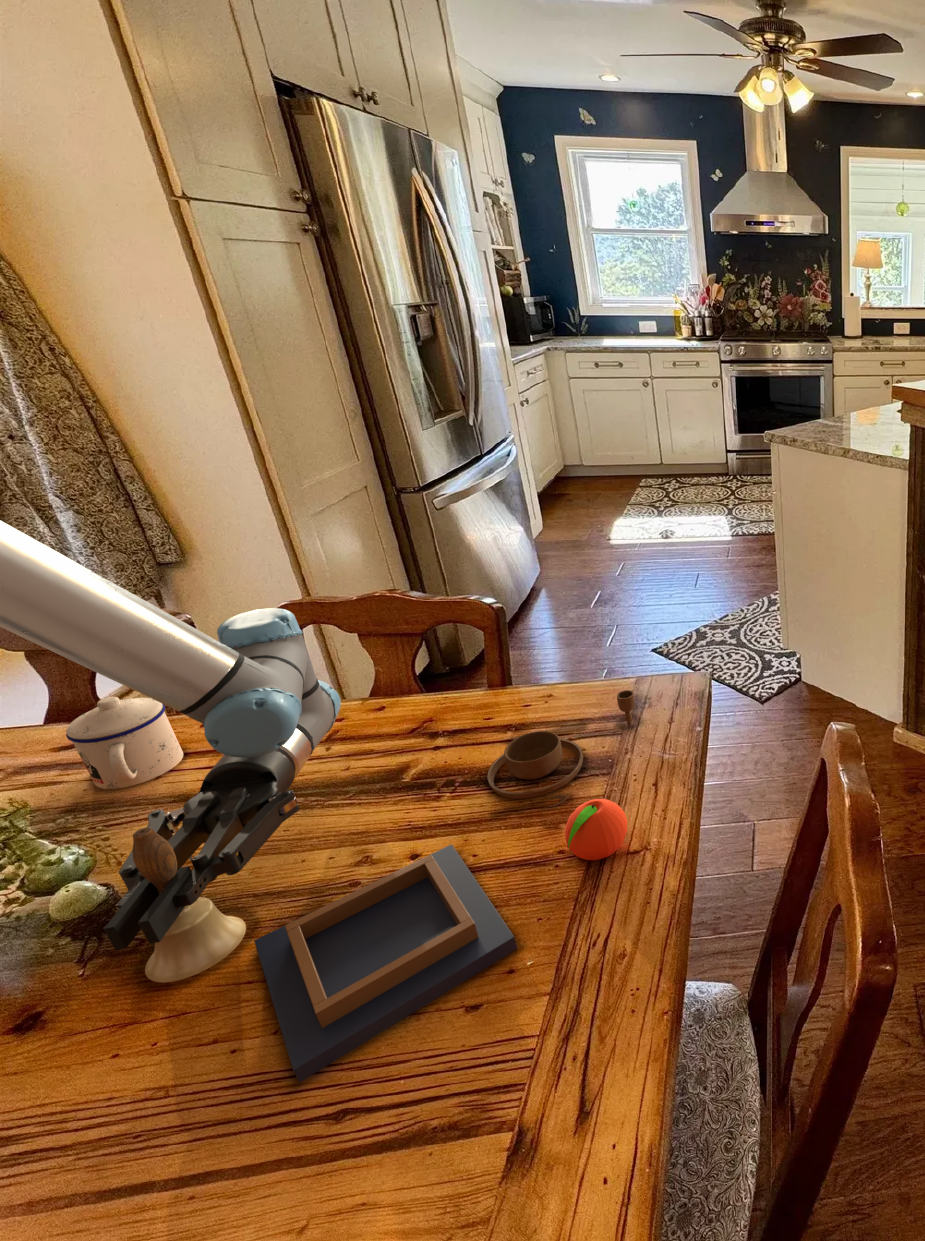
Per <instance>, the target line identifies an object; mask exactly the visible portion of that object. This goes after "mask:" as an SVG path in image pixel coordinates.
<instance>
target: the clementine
mask: <svg viewBox="0 0 925 1241" xmlns="http://www.w3.org/2000/svg"><path fill="white" fill-rule="evenodd" d="M627 833H628V819H627V817H626V814H625V812H624V810H623V809H622V808H621V807H620V805H618V803H616V802H614V801H611V800H609V799H606V798H595V799H591V800H588V801H585V802H583V803H582V804H580V805H579V806H578V807H576V808H575V809H574V810H573V812H572V813H571V814H570V815H569V817H568V819H567V822H566V824H565V830H564V839H565V842H566V845H567V850H570V851H571V852H572V853H573V854H574V856H576V857H578V858H579V859H583V860H586V861H600V860H603V859H606V858H608V857H609V856H611V855H613V854H614V853H615V852H616V851H617V850H618V849H619V848H620V847H621V846H622V844H624V841H625V839H626V836H627Z"/></svg>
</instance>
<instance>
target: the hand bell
mask: <svg viewBox="0 0 925 1241" xmlns="http://www.w3.org/2000/svg"><path fill="white" fill-rule="evenodd" d="M132 839H133V840H132V841H133V845H132V850H133V860H134V863H135V865H136V867H137V869H138V871H139V872H140V873H141V875H142V876H143V877H144V878H145V879H147V880H148V881H149V882H151V883H152V884H153V885H154V886H155V887H156V888H157V890H158V893H159V894H160V893H161V892H162V890H163V889H164V888H165V887H166V885H167V884H168V883H169V881H170V880H171V879H172V878H173V877H174V876H175V875H176V873H177V860H176V856H175V853H174V851H173V848H172V846H171V845H170V843H169V842H168V841H167V840H165V839H164V838H163V837H162V836H160V835H159V834H157V833H156V832H155V831H154V830H153V829H152V828H151V827H147V826H146V827H141V828H139V829H137V830H136V831H135V832H134V833H133V834H132ZM246 931H247V924H246V922H245V921H244V920H243V919H242V918H241V917H237V916H234V915H226V914H224V913H222V912H221V911H220V910H219V909H218V908H217V906H216V905H215V904H214V902H213V901H212V900H211V899H210V898H208V897H202V896H199V898H198V899H197V901H195V902H194V903H193V904H192V905H189V906H185V907H184V909H183V910H182V912H181V913H180V914H179V916H178V917H177V919H176V920H175V921H174V923H173V924H172V926H171V927H170V928H169V930H168V931H167V933H166V934H165V935H164V937H163V938H162V940H161V941H160V942H157V943H154V951H153V952H152V954H151V955H150V957H149V958H148V960H147V962H146V964H145V967H144V974H145V976H146V977H147V979H148V980H150V981H152V982H156V983H173V982H177V981H181V980H185V979H188V978H190V977H193V976H195V975H198V974H201V973H202V972H204V971H206V970H208V969H210V968H211V967H213V966H215V965H216V964H218V963H220V962H221V961H222V960H224V959H225V958H226V957H227V956H229V955H230V954H231V953H232V952H233V951H234V950H235V949H236V948H237V947H238V946H239V945H240V943H241V942H242V941H243V939H244V937H245V934H246Z"/></svg>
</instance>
